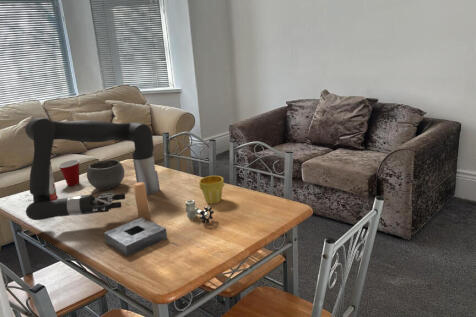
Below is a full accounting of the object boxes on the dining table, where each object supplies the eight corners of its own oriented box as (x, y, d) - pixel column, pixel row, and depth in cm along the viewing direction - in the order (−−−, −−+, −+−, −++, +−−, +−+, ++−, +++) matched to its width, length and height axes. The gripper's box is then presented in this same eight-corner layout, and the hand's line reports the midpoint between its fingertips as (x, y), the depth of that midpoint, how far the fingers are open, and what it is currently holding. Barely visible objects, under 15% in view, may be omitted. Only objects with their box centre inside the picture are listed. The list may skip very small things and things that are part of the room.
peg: (146, 215, 172) (140, 181, 167) (152, 218, 169) (146, 183, 164) (137, 219, 169) (131, 184, 165) (142, 222, 166) (136, 187, 161)
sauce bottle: (47, 198, 201) (33, 142, 193) (61, 197, 201) (49, 141, 193) (39, 204, 194) (25, 146, 186) (55, 203, 194) (41, 145, 186)
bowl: (111, 179, 221) (107, 156, 218) (134, 184, 211) (130, 160, 207) (82, 191, 208) (77, 166, 204) (105, 196, 197) (100, 171, 194)
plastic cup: (61, 183, 222) (57, 162, 219) (83, 179, 226) (78, 158, 222) (62, 189, 212) (57, 167, 209) (84, 185, 216) (80, 163, 213)
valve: (182, 218, 166) (202, 226, 158) (180, 203, 165) (200, 210, 156) (195, 212, 171) (214, 219, 163) (193, 197, 169) (213, 204, 161)
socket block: (143, 226, 162) (142, 217, 161) (167, 238, 151) (165, 228, 149) (105, 242, 152) (103, 232, 151) (127, 256, 140) (125, 245, 139)
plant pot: (211, 207, 174) (209, 185, 171) (196, 201, 182) (194, 180, 179) (230, 199, 180) (228, 178, 178) (215, 194, 188) (213, 173, 185)
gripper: (74, 203, 157) (118, 198, 158) (84, 189, 170) (124, 185, 171) (78, 221, 159) (121, 216, 160) (87, 206, 173) (127, 202, 174)
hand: (123, 200), depth 166 cm, fingers open, 8 cm apart
